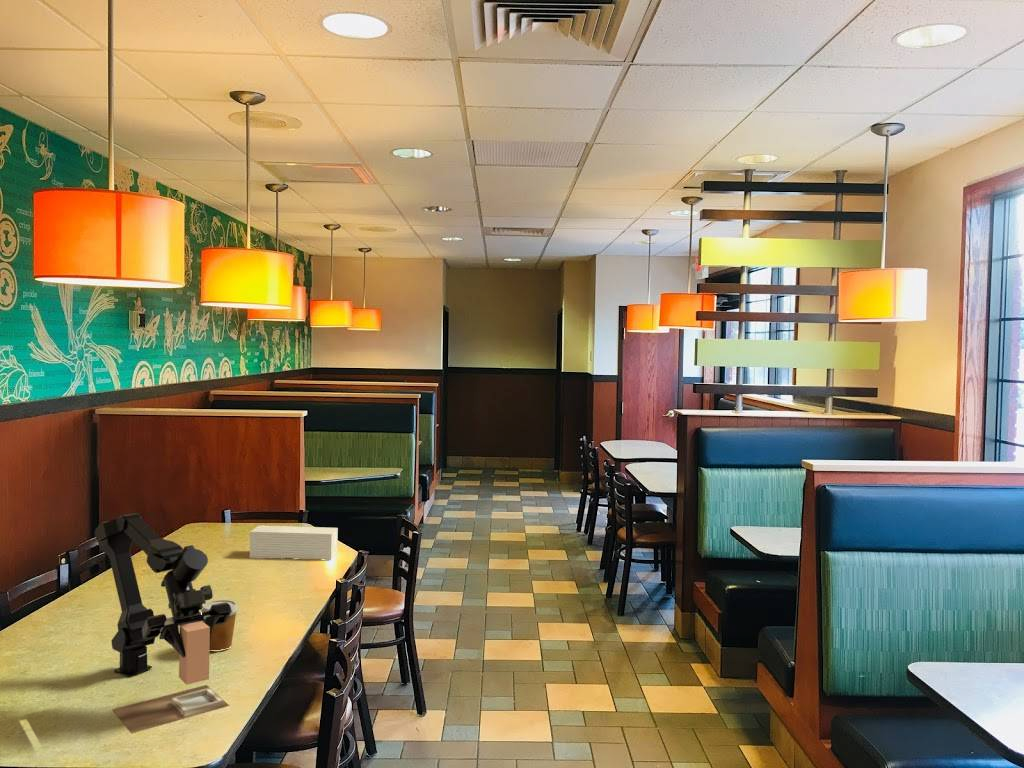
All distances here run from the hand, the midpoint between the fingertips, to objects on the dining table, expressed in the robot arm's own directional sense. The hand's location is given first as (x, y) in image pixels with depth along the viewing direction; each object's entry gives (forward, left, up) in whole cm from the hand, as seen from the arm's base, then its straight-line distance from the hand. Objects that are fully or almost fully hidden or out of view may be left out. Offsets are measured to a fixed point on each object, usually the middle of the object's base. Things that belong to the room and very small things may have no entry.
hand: (196, 653), depth 177 cm
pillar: (-1, +1, -6) cm, 6 cm away
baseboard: (-5, -3, -13) cm, 15 cm away
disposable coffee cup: (-26, +29, -14) cm, 41 cm away
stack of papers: (-77, +112, -14) cm, 136 cm away
